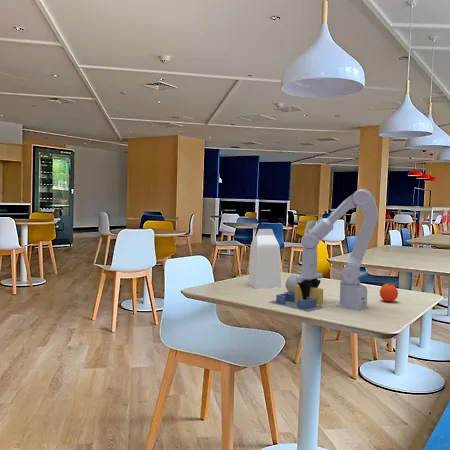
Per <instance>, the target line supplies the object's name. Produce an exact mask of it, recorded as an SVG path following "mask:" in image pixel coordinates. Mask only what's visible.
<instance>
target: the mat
mask: <svg viewBox="0 0 450 450" xmlns="http://www.w3.org/2000/svg"><path fill="white" fill-rule="evenodd" d="M268 303H270V304H273V305H277V306H278V305H279V306H282V307H286V308H290V309H294V310H299V311H302V312H303V311H304V312H307V313H309V312H313V311H317V310H321V309H324V308H325V306H320V305H316V307H314V308H310V309H306V310H305V309H301V308H297V300H295V302H290V301H285V304H280V303H276V300H272V301H268Z"/></svg>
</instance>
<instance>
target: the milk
mask: <svg viewBox="0 0 450 450" xmlns="http://www.w3.org/2000/svg"><path fill="white" fill-rule="evenodd" d="M248 263H249V264H248V280H247V284H248V285H250V286H251V287H252V288H254V289H255V290H257V289H258V290H259V289H273V288H277V289H278V288H279V289H281V288H282V281H281V280H282V277H281V276H282V275H281V273H282V271H281V248H280V244H279V242H278V240H277V238H276V235H275V234H274V230H273V229H272V228H259V229H258V230H257V233H256V234H255V236H254V238H253V239H252V241H251V243H250V251H249V262H248Z"/></svg>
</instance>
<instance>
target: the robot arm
mask: <svg viewBox="0 0 450 450" xmlns="http://www.w3.org/2000/svg"><path fill="white" fill-rule="evenodd" d="M357 207H358V208H359V209H360V211H361V213H362V214H363V217H364V218H363V220H362V224H361V226H360V229H359V232H358V235H357V237H356V239H355V242H354V245H353V248H352V250H351V253H350V256H349V258H348V261H347V262H346V265H345V266H344V268H343V269H342V270H341V271H340V279H341V280H340V283H339V303H336V304H334V306H335V307H340V308H345V309H350V310H353V311H360V310H363V309H367V308H369V306H368V288H367V286H366V285H363V284H362V283H361V280H360V279H359V277H360V276H361V267H362V266H361V265H362V262H363V259H364V257H365V254H366V251H367V248H368V246H369V243H370V241H371V238H372V235H373V233H374V230H375V228H376V225H377V222H378V219H379V216H380V213H379V210H378V206H377V203H376V198H375V196H374V195H373V194H372V192H370V191H369V190H368V189H365V188H360V189H357V190H356V191H354V193H353V194H351V195H349V196H348V197H347V198H345V199H344V200H343V201H342V202H341V203H340V204H339V205H338V207H337V208H335V210H333V212H332V213H331V214H329V216H328V217H326V218H324V217H323V218H321V219H320V218H319V219H318V220H317V221H316V224H315V225H313V227H312V228H309V229H308V230H307V231H308V232H307V233H305V234H303V236H302V238H301V244H302V257H301V258H302V259H301V273H300V274H299V275H297V276H298V277H296V282H298V285H299V286H300V289H301V292H302V296H303V299H305V300H307V297H309V293H310V288H311V287H316V288H319V286H320V284H321V279H323V273H321V272H318V245H319V244H320V241H322V240H323V239H325V238H326V236H328V234H330V233H331V231H333V229H334V224H336V223H337V221H338V220H339V219H341V218H342V217H343V216H344V215H345V214H346V213H347V212H349V210H352V209H355V208H357Z"/></svg>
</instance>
